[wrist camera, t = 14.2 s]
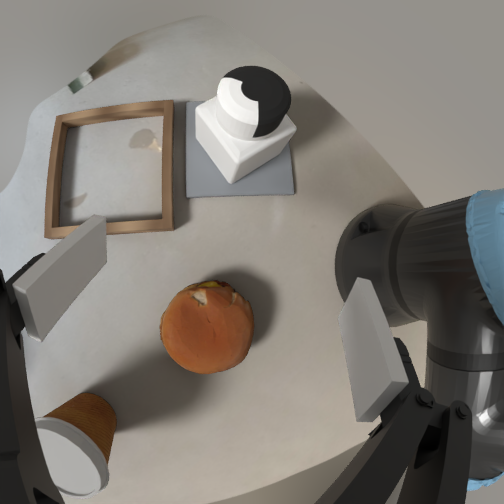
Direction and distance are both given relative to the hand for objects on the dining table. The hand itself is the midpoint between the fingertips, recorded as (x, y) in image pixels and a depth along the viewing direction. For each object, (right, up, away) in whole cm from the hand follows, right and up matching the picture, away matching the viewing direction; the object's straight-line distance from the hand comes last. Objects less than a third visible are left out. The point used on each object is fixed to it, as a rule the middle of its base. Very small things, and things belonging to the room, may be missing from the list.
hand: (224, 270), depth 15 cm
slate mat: (0, +13, +19) cm, 23 cm away
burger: (-4, -7, +18) cm, 19 cm away
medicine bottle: (0, +13, +19) cm, 23 cm away
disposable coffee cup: (-18, -19, +14) cm, 30 cm away
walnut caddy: (-15, +10, +16) cm, 24 cm away
